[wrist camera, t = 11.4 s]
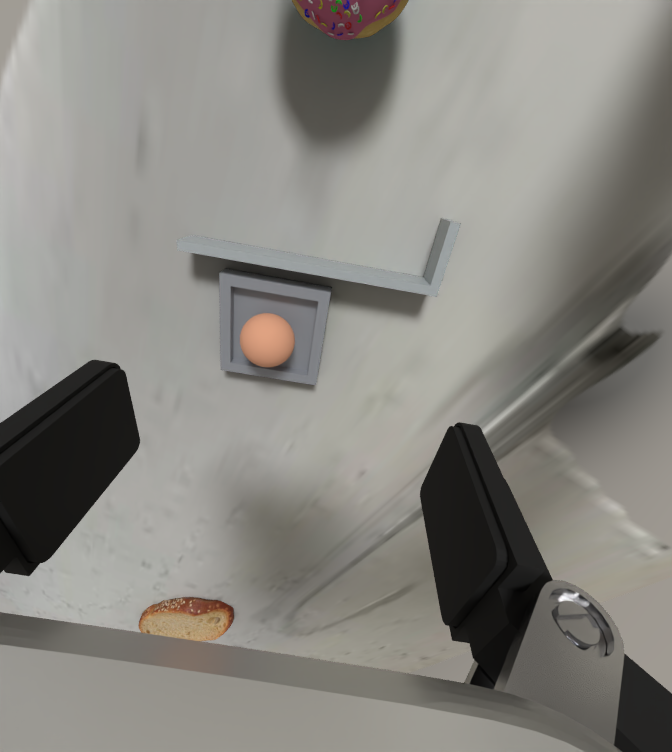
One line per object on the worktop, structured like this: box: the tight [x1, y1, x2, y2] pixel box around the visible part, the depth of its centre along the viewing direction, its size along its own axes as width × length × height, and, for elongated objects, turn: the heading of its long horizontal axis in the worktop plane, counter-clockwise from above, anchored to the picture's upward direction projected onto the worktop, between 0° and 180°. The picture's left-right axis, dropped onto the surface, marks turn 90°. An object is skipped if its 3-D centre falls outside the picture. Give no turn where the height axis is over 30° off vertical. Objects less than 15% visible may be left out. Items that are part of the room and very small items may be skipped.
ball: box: [240, 313, 295, 367], centre depth 30 cm, size 5×5×5 cm
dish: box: [219, 268, 332, 385], centre depth 32 cm, size 10×10×2 cm
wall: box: [177, 218, 461, 297], centre depth 27 cm, size 22×6×3 cm, turn 80°
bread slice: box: [139, 597, 234, 641], centre depth 64 cm, size 18×18×4 cm
